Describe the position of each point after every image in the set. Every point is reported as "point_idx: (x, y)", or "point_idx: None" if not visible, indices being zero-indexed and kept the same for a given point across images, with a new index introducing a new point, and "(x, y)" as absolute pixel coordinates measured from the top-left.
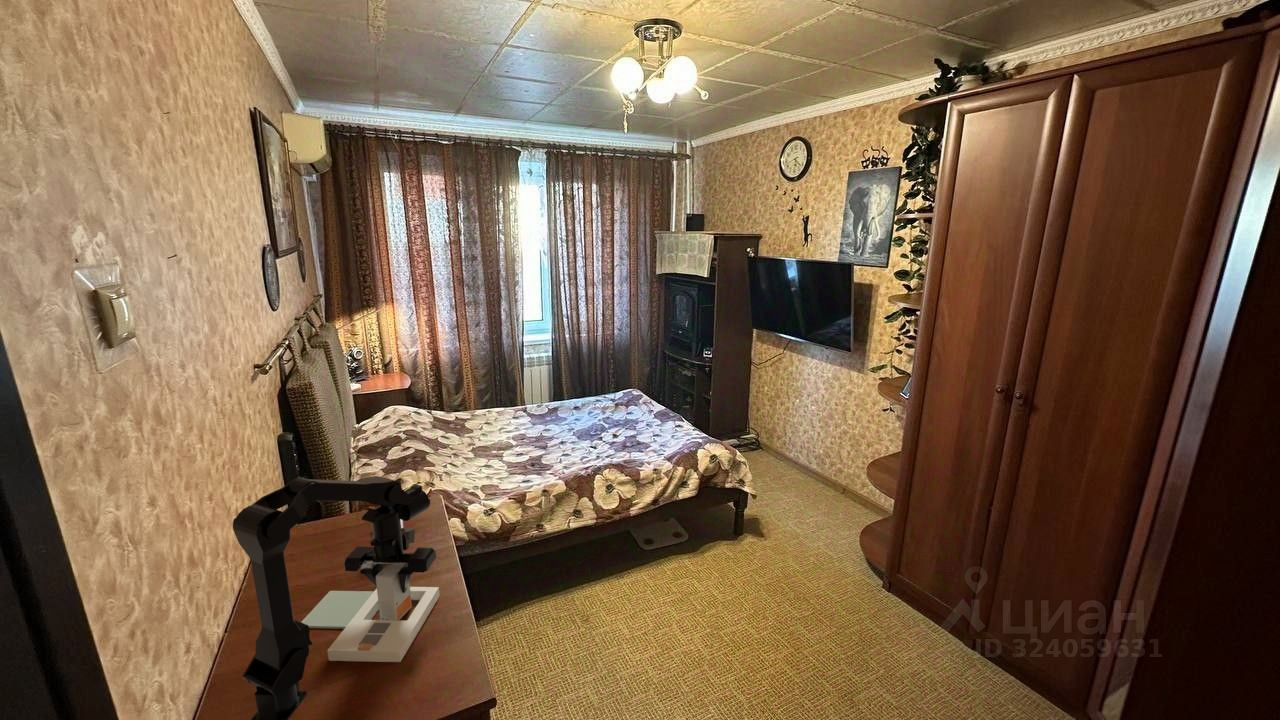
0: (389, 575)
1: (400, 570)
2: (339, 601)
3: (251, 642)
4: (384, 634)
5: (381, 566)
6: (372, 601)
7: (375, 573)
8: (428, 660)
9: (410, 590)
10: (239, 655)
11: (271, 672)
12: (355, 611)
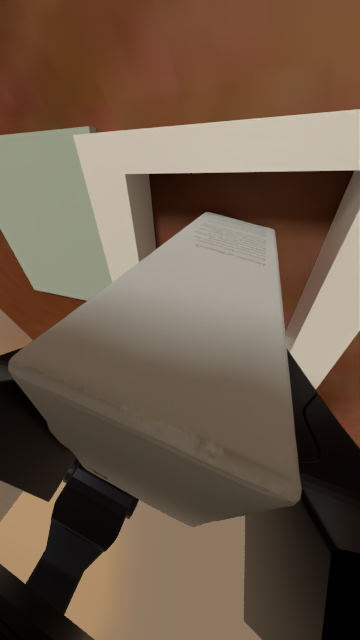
0: (166, 513)
1: (256, 632)
2: (25, 204)
3: (15, 307)
4: None
5: (18, 414)
6: (124, 255)
7: (61, 452)
8: (352, 422)
9: (259, 169)
10: (30, 328)
11: None
12: (100, 254)
